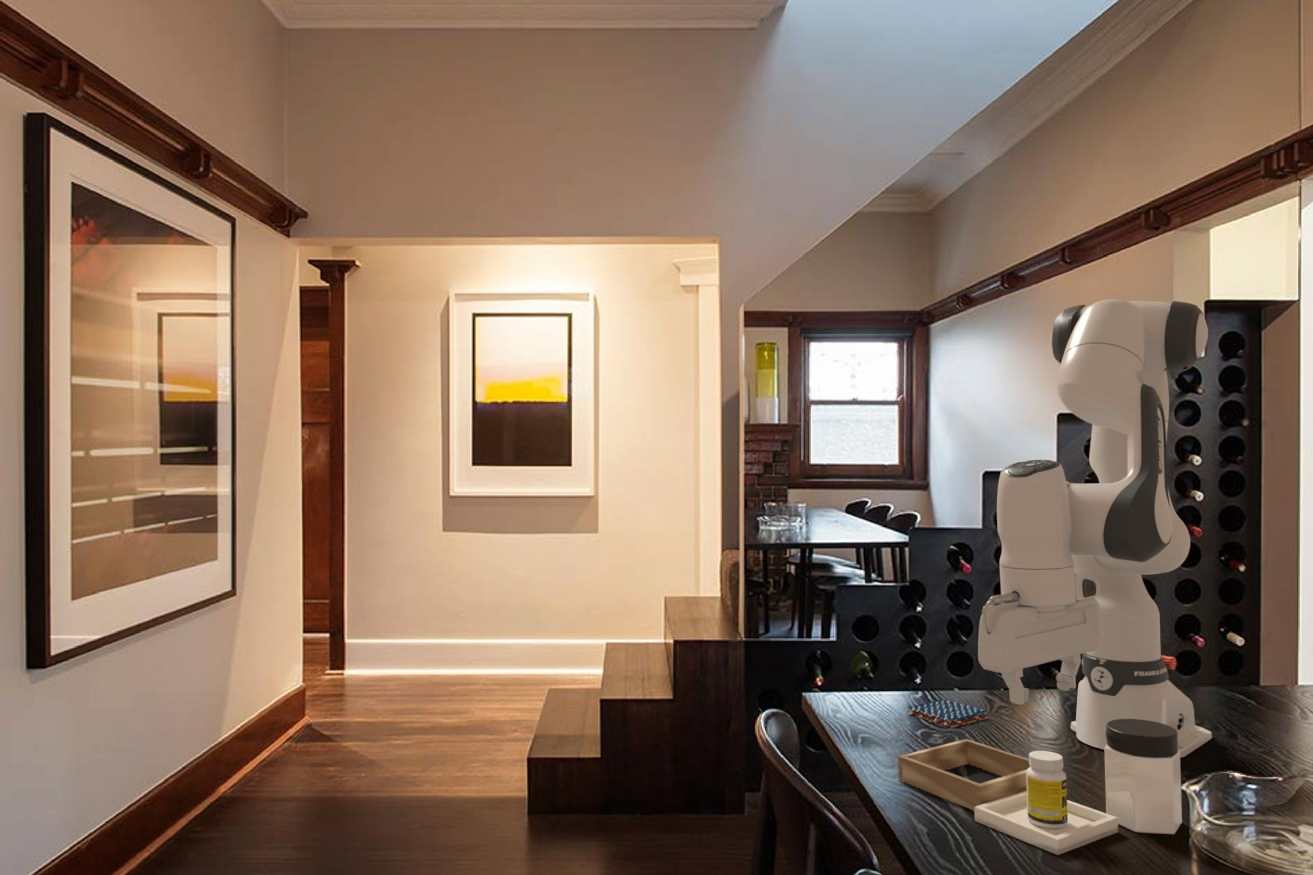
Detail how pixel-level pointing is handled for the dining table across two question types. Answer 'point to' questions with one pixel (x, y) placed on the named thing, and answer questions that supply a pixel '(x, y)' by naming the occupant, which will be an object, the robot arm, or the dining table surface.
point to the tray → (1077, 832)
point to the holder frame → (932, 777)
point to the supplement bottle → (1046, 790)
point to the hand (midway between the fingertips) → (1043, 695)
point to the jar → (1143, 775)
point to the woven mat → (948, 713)
